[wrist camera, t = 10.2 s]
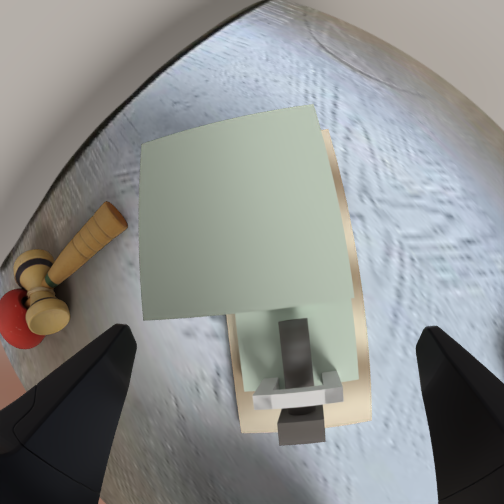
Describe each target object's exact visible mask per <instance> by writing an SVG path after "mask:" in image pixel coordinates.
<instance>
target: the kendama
mask: <svg viewBox="0 0 504 504" xmlns="http://www.w3.org/2000/svg"><path fill="white" fill-rule="evenodd" d="M127 228H128V225H127V222H126V221H125V219H124V217H123V216H122V215H121V213H120V212H119V211H118V210H117V209H116V208H115V207H114V206H113V205H112V204H111V203H110V202H107V201H106V202H104V203H103V205H102V206H101V207H100V208H99V209H98V210H97V211H96V212H95V214H94V216H92V217H91V218H90V219H89V220H88V222H87V223H86V224H85V225H84V226H83V227H82V228H81V230H80V231H79V232H78V233H77V234H76V235H75V236H74V238H73V239H72V240H71V241H70V242H69V243H68V245H67V246H66V247H65V248H64V249H63V251H62V252H61V253H60V255H59V256H58V258H57V259H56V260H55V261H54V259H53V257H52V255H51V254H50V253H49V252H47V251H45V250H40V249H33V250H29V251H26V252H24V253H23V254H21V255H20V256H19V257H18V258H17V259H16V261H15V263H14V276H15V280H16V283H17V284H18V285H19V286H20V287H22V289H14V290H11V291H9V292H7V293H6V294H5V295H4V296H3V297H2V298H1V300H0V333H1V335H2V336H3V338H4V339H5V340H6V341H7V342H8V343H9V344H11V345H12V346H14V347H16V348H19V349H30V348H33V347H35V346H37V345H38V344H39V343H40V342H41V341H42V340H43V339H44V337H45V335H49V334H53V333H56V332H58V331H60V330H61V329H63V328H64V327H65V326H66V325H67V324H68V322H69V321H70V313H69V309H68V307H67V305H66V303H65V302H63V301H61V300H59V299H57V298H56V297H55V292H54V291H53V289H54V288H55V287H56V286H57V285H59V284H60V283H61V282H63V281H64V280H65V279H66V278H68V277H69V276H70V275H72V274H73V273H74V272H75V271H77V270H78V269H79V268H80V267H81V266H82V265H83V264H85V263H86V262H87V261H88V260H89V259H90V258H91V257H92V256H94V255H95V254H96V253H97V252H98V251H99V250H101V249H102V248H103V247H104V246H105V245H107V244H108V243H109V242H110V241H111V240H112V239H113V238H115V237H116V236H118V235H119V234H120V233H122V232H123V231H125V230H126V229H127Z"/></svg>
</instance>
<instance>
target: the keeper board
mask: <svg viewBox="0 0 504 504" xmlns="http://www.w3.org/2000/svg"><path fill="white" fill-rule="evenodd" d="M321 132H322V136H323V140H324V143H325V147H326V151H327V155H328V159H329V163H330V167H331V171H332V176H333V180H334V184H335V189H336V193H337V198H338V203H339V208H340V213H341V218H342V223H343V228H344V233H345V239H346V245H347V250H348V257H349V263H350V269H351V276H352V283H353V290H354V298H351V301H352V309H353V317H354V327H355V337H356V347H357V360H358V374H359V379H358V380H352V381H346V382H341V383H342V386H343V398H344V402H337V403H330V404H323V405H315V406H305V407H295V408H283V409H267V410H254V405H253V397H252V396H253V394H254V393H255V391H248V392H244V385H243V377H242V369H241V361H240V353H239V344H238V336H237V327H236V318H235V314H226V317H227V326H228V335H229V343H230V352H231V360H232V368H233V376H234V384H235V391H236V399H237V406H238V413H239V420H240V427H241V433H271V432H278V437H279V446H281V445H297V444H309V443H318V442H325V428H329V427H336V426H343V425H349V424H355V423H361V422H366V421H371V420H372V408H371V380H370V363H369V349H368V338H367V327H366V318H365V309H364V301H363V293H362V286H361V279H360V272H359V266H358V259H357V253H356V248H355V242H354V236H353V231H352V226H351V221H350V216H349V211H348V206H347V202H346V197H345V193H344V188H343V184H342V180H341V175H340V171H339V167H338V163H337V159H336V156H335V152H334V148H333V144H332V141H331V137H330V134H329V130H328V129H325V130H321ZM278 326H279V335H280V344H281V353H282V362H283V371H284V381H285V389H292V388H302V387H311V386H314V378H313V367H312V357H311V347H310V337H309V328H308V319H307V318H300V319H291V320H284V321H279V322H278ZM280 390H281V389H280Z"/></svg>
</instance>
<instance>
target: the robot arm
mask: <svg viewBox="0 0 504 504" xmlns="http://www.w3.org/2000/svg"><path fill="white" fill-rule="evenodd" d="M136 349H137V344H136V341H135V339H134V336H133V334H132V332H131V329H130V327H129V326H128V325H126V324H115V325H113V326H112V327H111V328H109V329H108V330H107V331H105V332H104V333H103V334H101V335H100V336H99V337H97V338H96V339H95V340H93V341H92V342H91V343H89V344H88V345H87V346H85V347H84V348H83V349H81V350H80V351H79V352H78V353H76V354H75V355H74V356H72V357H71V358H70V359H68V360H67V361H66V362H65V363H63V364H62V365H61V366H59V367H58V368H57V369H55V370H54V371H53V372H52V373H50V374H49V375H48V376H46V377H45V378H44V379H43V380H41V381H40V382H39V383H38V384H37V385H35V386H34V387H32V388H31V389H30V390H29V391H27V392H26V393H25V394H23V395H22V396H21V397H19V398H18V399H17V400H16V401H14V402H12V403H11V404H10V405H8V406H7V407H5V408H3V409H2V410H0V504H98V501H99V497H100V491H101V487H102V483H103V478H104V474H105V470H106V466H107V462H108V458H109V454H110V450H111V446H112V443H113V439H114V435H115V432H116V428H117V425H118V421H119V418H120V415H121V411H122V408H123V405H124V401H125V398H126V395H127V391H128V387H129V383H130V378H131V373H132V368H133V363H134V359H135V354H136ZM416 356H417V363H418V369H419V376H420V384H421V391H422V397H423V401H424V406H425V411H426V416H427V421H428V426H429V431H430V437H431V443H432V449H433V456H434V463H435V472H436V481H437V491H438V501H439V502H438V504H504V384H503V383H502V382H501V381H500V380H499V379H498V378H497V377H496V376H495V375H494V374H493V373H492V372H490V371H489V370H488V369H487V368H486V367H485V366H484V365H483V364H481V363H480V362H479V361H478V360H477V359H476V358H475V357H474V356H472V355H471V354H470V353H469V352H468V351H467V350H465V349H464V348H463V347H462V346H461V345H460V344H458V343H457V342H456V341H455V340H454V339H453V338H451V337H450V336H449V335H448V334H447V333H445V332H444V331H443V330H442V329H441V328H439V327H438V326H427V327H425V328H424V329H423V331H422V334H421V336H420V338H419V340H418V342H417V345H416Z"/></svg>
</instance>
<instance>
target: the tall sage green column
mask: <svg viewBox="0 0 504 504" xmlns="http://www.w3.org/2000/svg"><path fill="white" fill-rule="evenodd" d="M139 263H140V283H141V298H142V311H143V321H145V320H163V319H178V318H192V317H204V316H216V315H226V314H235V318H236V327H237V336H238V344H239V353H240V361H241V369H242V377H243V385H244V392H248V391H255V393H254V394H253V396H252V397H253V405H254V410H267V409H283V408H295V407H305V406H315V405H323V404H330V403H337V402H344V398H343V386H342V383H341V382H346V381H352V380H358V379H359V374H358V360H357V347H356V337H355V327H354V317H353V309H352V301H351V298H354V290H353V283H352V276H351V269H350V263H349V257H348V250H347V245H346V239H345V233H344V228H343V223H342V218H341V213H340V208H339V203H338V198H337V193H336V189H335V184H334V180H333V176H332V171H331V167H330V163H329V159H328V155H327V151H326V147H325V143H324V140H323V136H322V132H321V128H320V125H319V121H318V118H317V114H316V111H315V108H314V104H311V105H304V106H297V107H290V108H284V109H278V110H272V111H267V112H261V113H256V114H251V115H246V116H241V117H237V118H232V119H228V120H224V121H219V122H215V123H211V124H207V125H203V126H200V127H196V128H192V129H189V130H185V131H182V132H178V133H175V134H171V135H168V136H165V137H162V138H159V139H155V140H152V141H149V142H146V143H143V144H141V159H140V179H139ZM300 318H307V319H308V328H309V337H310V347H311V357H312V367H313V378H314V386H311V387H302V388H292V389H285V381H284V371H283V362H282V353H281V344H280V335H279V326H278V322H279V321H284V320H291V319H300ZM280 389H281V390H280Z"/></svg>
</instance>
